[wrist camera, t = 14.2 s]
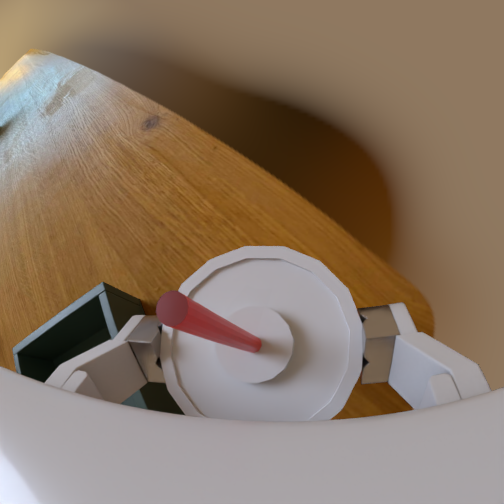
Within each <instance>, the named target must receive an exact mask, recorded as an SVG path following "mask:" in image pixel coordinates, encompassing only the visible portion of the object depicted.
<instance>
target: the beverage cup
mask: <svg viewBox="0 0 504 504" xmlns="http://www.w3.org/2000/svg"><path fill="white" fill-rule="evenodd" d="M156 314H157V317H158V319H159V321H160V322H161V323H163V327H162V334H161V353H160V360H161V365H162V369H163V373H164V378H165V382H166V386H167V390H168V391H169V393H170V394H171V396H172V397H173V398H174V400H175V401H176V403H177V404H178V406H179V407H180V408H181V410H182V411H183V412H184V414H185V415H187V416H195V417H205V418H215V419H228V420H245V421H324V420H330V419H331V418H333V417H334V416H335V415H336V414H337V413H339V412H340V411H341V410H342V408H343V407H344V405H345V403H346V401H347V399H348V397H349V395H350V393H351V391H352V389H353V387H354V385H355V383H356V381H357V379H358V377H359V375H360V373H361V371H362V356H363V348H362V322H361V320H360V317H359V315H358V312H357V309H356V307H355V304H354V302H353V299H352V297H351V294H350V292H349V290H348V288H347V287H346V286H345V285H344V284H343V283H342V282H341V281H340V280H339V279H338V278H337V277H336V276H335V275H334V274H333V273H332V272H331V271H330V270H329V269H328V268H327V267H326V266H325V265H323V264H322V263H321V262H320V261H319V260H316V259H314V258H311V257H309V256H306V255H304V254H302V253H299V252H297V251H294V250H292V249H289V248H287V247H284V246H245V247H242V248H239V249H237V250H234V251H231V252H229V253H226V254H223V255H221V256H218V257H215V258H213V259H210V260H209V261H208V262H207V263H205V264H204V265H203V266H202V267H201V268H200V269H198V270H197V271H196V272H195V273H194V274H193V275H192V276H190V277H189V278H188V279H187V280H186V281H185V282H183V283H182V285H181V287H180V288H179V290H178V291H169V292H166V293H165V294H163V295H162V296H161V297H160V299H159V301H158V302H157V306H156Z"/></svg>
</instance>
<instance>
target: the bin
mask: <svg viewBox="0 0 504 504" xmlns="http://www.w3.org/2000/svg"><path fill="white" fill-rule="evenodd" d="M134 315H145V313H144V310H143V307H142V304H141V302H140V299H137V298H136V297H133V296H131V295H129V294H127V293H125V292H123V291H121V290H119V289H117V288H115V287H113V286H111V285H109V284H107V283H105V282H102V283H100V284H99V285H98V286H96V287H95V288H93V289H92V290H90V291H89V292H88V293H86V294H85V295H83V296H82V297H80V298H79V299H78V300H76V301H75V302H73V303H72V304H71V305H69V306H68V307H67V308H65V309H64V310H62V311H61V312H60V313H58V314H57V315H56V316H54V317H53V318H52V319H50V320H49V321H47V322H46V323H45V324H43V325H42V326H41V327H39V328H38V329H37V330H36V331H34V332H33V333H32V334H30V335H29V336H28V337H26V338H25V339H24V340H23V341H21V342H20V343H19V344H17V345H16V346H15V347H14V348H13V349H12V350H13V355H14V361H15V367H16V372H17V373H18V374H21V375H24V376H26V377H29V378H32V379H34V380H37V381H40V382H43V383H45V382H46V380H47V379H48V378H49V377H50V376H51V374H52V373H53V372H54V371H55V370H56V369H57V367H58V366H59V365H60V364H62V363H64V362H66V361H68V360H70V359H72V358H74V357H76V356H78V355H80V354H82V353H84V352H86V351H88V350H90V349H92V348H94V347H96V346H98V345H100V344H102V343H104V342H106V341H108V340H113V339H114V338H115V337H116V335H117V334H118V333H119V332H120V331H121V329H122V328H123V327H124V326H125V325H126V323H127V322H128V321H129V320H130V319H131V317H132V316H134ZM121 404H122V405H127V406H131V407H137V408H142V409H147V410H153V411H159V412H165V413H172V414H179V415H185V414H184V412H183V411H182V410H181V408H180V407H179V406H178V404H177V403H176V401H175V400H174V398H173V397H172V396H171V394H170V393H169V391H168V390H167V386H166V383H158V382H148V381H147V383H146V384H145V385H144V386H143V387H141V388H140V389H139V390H137V391H136V392H135V393H134V394H132V395H131V396H130V397H128V398H127V399H126V400H125V401H123V402H122V403H121Z"/></svg>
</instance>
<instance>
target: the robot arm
mask: <svg viewBox="0 0 504 504" xmlns="http://www.w3.org/2000/svg"><path fill="white" fill-rule="evenodd" d="M357 312H358V315H359V317H360V320H361V322H362V348H363V356H362V371H361V373H360V379H361V384H370V383H381V382H388V384H389V385H390V386H391V387H392V388H393V389H394V390H396V391H397V392H398V393H399V394H400V395H401V396H402V397H403V398H404V399H405V400H406V401H407V402H408V403H409V404H410V405H411V406H412V407H413V408H414V409H415V410H411V411H405V412H399V413H393V414H386V415H379V416H371V417H362V418H352V419H340V420H324V421H245V420H228V419H215V418H205V417H195V416H187V415H179V414H172V413H165V412H159V411H153V410H147V409H142V408H137V407H131V406H127V405H122V404H121V403H122V402H123V401H125V400H126V399H127V398H128V397H130V396H131V395H132V394H134V393H135V392H136V391H137V390H139V389H140V388H141V387H143V386H144V385H145V384H146V383H147V381H148V382H158V383H166V382H165V378H164V373H163V369H162V365H161V360H160V353H161V334H162V327H163V323H161V322H160V321H159V319H158V317H157V316H156V315H134V316H132V317H131V319H130V320H129V321H128V322H127V323H126V325H125V326H124V327H123V328H122V329H121V331H120V332H119V333H118V334H117V335H116V337H115V338H114V339H113V340H108V341H106V342H104V343H102V344H100V345H98V346H96V347H94V348H92V349H90V350H88V351H86V352H84V353H82V354H80V355H78V356H76V357H74V358H72V359H70V360H68V361H66V362H64V363H62V364H60V365H59V366H58V367H57V369H56V370H55V371H54V372H53V373H52V374H51V376H50V377H49V378H48V379H47V380H46V382H45V383H43V382H40V381H37V380H34V379H32V378H29V377H26V376H24V375H21V374H18V373H16V372H13V371H11V370H9V369H6V368H4V367H1V366H0V504H504V387H502V388H499V389H496V390H493V391H492V390H491V388H490V386H489V384H488V382H487V380H486V378H485V376H484V374H483V372H482V370H481V369H480V367H479V365H478V364H477V363H475V362H473V361H472V360H470V359H468V358H467V357H465V356H463V355H461V354H460V353H458V352H456V351H454V350H453V349H451V348H449V347H448V346H446V345H444V344H442V343H440V342H439V341H437V340H435V339H434V338H432V337H430V336H428V335H427V334H425V333H423V332H418V331H417V329H416V327H415V325H414V323H413V320H412V318H411V316H410V314H409V312H408V310H407V308H406V306H405V304H404V303H403V302H402V303H395V304H388V305H382V306H374V307H366V308H357Z"/></svg>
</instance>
